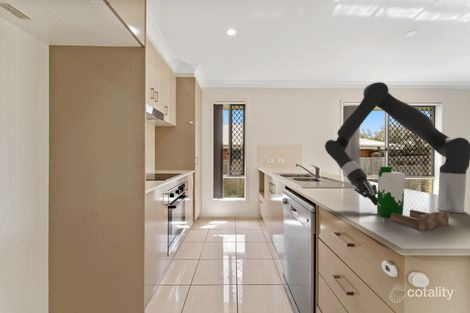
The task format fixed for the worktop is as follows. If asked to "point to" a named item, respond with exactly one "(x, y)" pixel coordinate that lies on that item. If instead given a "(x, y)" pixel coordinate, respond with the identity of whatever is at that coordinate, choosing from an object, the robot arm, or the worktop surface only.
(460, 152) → the robot arm
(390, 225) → the worktop surface
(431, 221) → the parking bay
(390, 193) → the soya milk
